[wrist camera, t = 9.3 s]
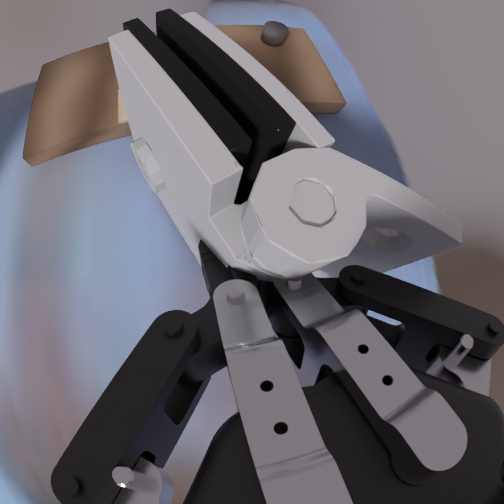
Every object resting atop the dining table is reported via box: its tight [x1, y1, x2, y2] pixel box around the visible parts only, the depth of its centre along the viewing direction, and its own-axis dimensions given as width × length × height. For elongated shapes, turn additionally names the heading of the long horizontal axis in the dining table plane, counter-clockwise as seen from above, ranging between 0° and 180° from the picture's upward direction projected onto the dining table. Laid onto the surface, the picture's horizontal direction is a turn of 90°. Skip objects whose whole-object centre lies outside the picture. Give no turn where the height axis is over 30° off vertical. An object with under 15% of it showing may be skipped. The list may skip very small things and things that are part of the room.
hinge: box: [108, 9, 462, 282], centre depth 11 cm, size 14×5×10 cm, turn 46°
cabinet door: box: [23, 21, 346, 166], centre depth 16 cm, size 24×10×3 cm, turn 104°
